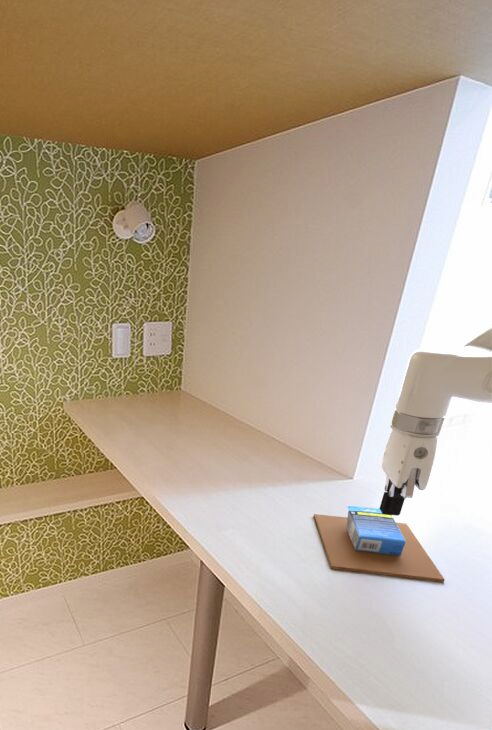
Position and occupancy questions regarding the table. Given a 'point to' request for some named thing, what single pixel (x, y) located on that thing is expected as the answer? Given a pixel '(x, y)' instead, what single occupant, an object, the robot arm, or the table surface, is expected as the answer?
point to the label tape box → (374, 531)
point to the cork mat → (347, 558)
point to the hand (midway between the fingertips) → (389, 512)
